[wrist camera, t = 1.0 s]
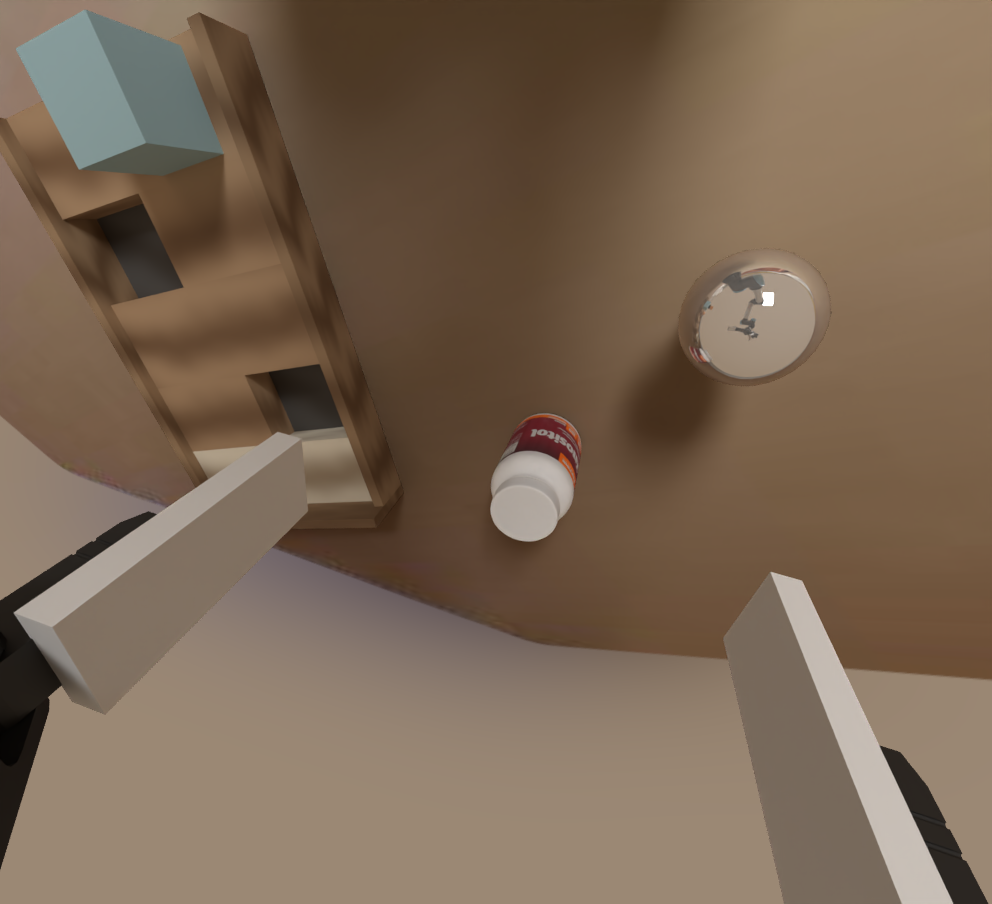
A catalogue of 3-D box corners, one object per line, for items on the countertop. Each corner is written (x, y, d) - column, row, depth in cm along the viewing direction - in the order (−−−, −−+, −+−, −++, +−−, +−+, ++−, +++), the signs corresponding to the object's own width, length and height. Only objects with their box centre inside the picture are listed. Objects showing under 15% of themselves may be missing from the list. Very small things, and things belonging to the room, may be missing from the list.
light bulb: (679, 357, 33) (706, 424, 23) (652, 266, 31) (669, 294, 20) (784, 322, 30) (869, 379, 20) (764, 218, 28) (848, 223, 18)
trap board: (41, 128, 37) (-53, 115, 32) (246, 34, 30) (170, -2, 25) (240, 499, 52) (199, 530, 47) (403, 492, 46) (376, 527, 41)
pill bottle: (597, 438, 38) (589, 514, 28) (554, 484, 41) (534, 565, 32) (538, 396, 37) (511, 459, 28) (499, 445, 40) (463, 516, 31)
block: (117, 75, 30) (15, 48, 25) (180, 45, 28) (85, 9, 23) (162, 175, 33) (78, 169, 28) (223, 153, 31) (146, 142, 26)
